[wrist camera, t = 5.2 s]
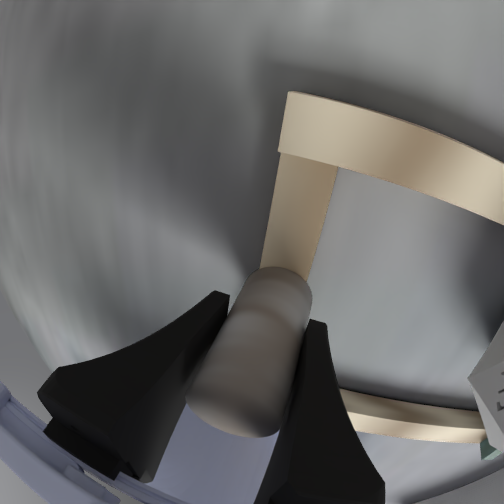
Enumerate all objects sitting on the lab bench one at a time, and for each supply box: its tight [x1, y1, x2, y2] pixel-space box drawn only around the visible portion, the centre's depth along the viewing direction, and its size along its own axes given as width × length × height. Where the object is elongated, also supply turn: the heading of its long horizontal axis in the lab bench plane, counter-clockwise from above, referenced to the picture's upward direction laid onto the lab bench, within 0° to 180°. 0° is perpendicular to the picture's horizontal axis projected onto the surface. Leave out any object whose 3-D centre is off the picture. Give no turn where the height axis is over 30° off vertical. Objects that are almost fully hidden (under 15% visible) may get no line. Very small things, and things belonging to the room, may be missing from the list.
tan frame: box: [185, 91, 504, 460], centre depth 10 cm, size 20×16×7 cm
